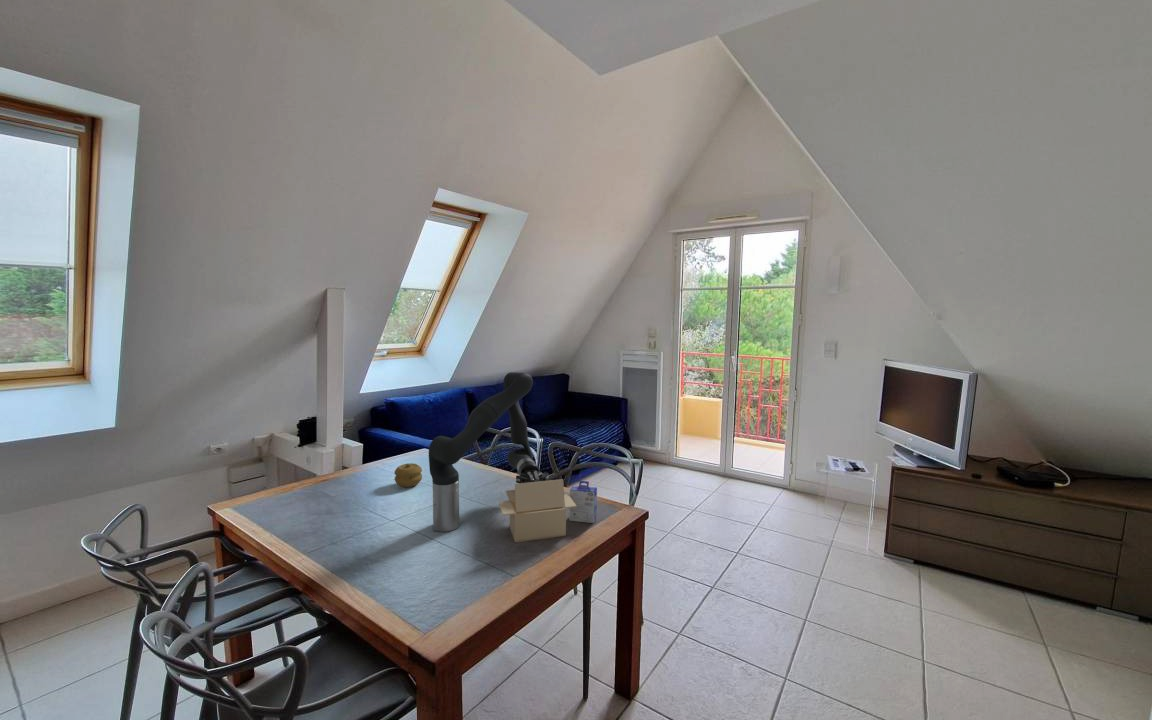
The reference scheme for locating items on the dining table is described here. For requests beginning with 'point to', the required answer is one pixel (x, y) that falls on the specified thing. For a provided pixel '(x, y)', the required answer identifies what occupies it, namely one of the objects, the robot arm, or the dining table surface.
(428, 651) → the dining table surface
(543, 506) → the far flap
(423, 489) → the dining table surface
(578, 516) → the ink cartridge box
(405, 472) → the stacked bagel
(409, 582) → the dining table surface
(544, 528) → the carton
